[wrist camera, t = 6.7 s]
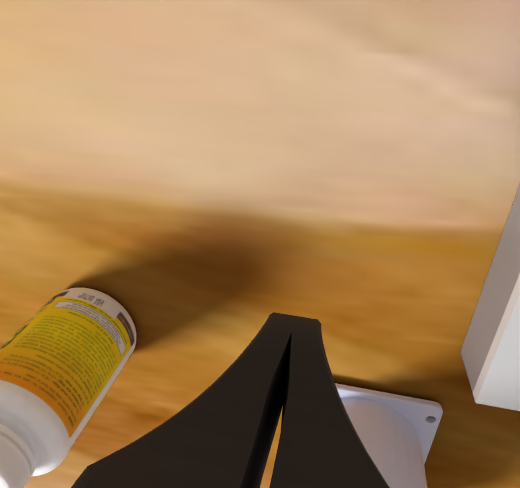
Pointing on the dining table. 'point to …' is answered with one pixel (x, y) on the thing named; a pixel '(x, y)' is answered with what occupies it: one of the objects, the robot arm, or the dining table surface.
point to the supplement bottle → (58, 379)
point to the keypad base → (498, 325)
